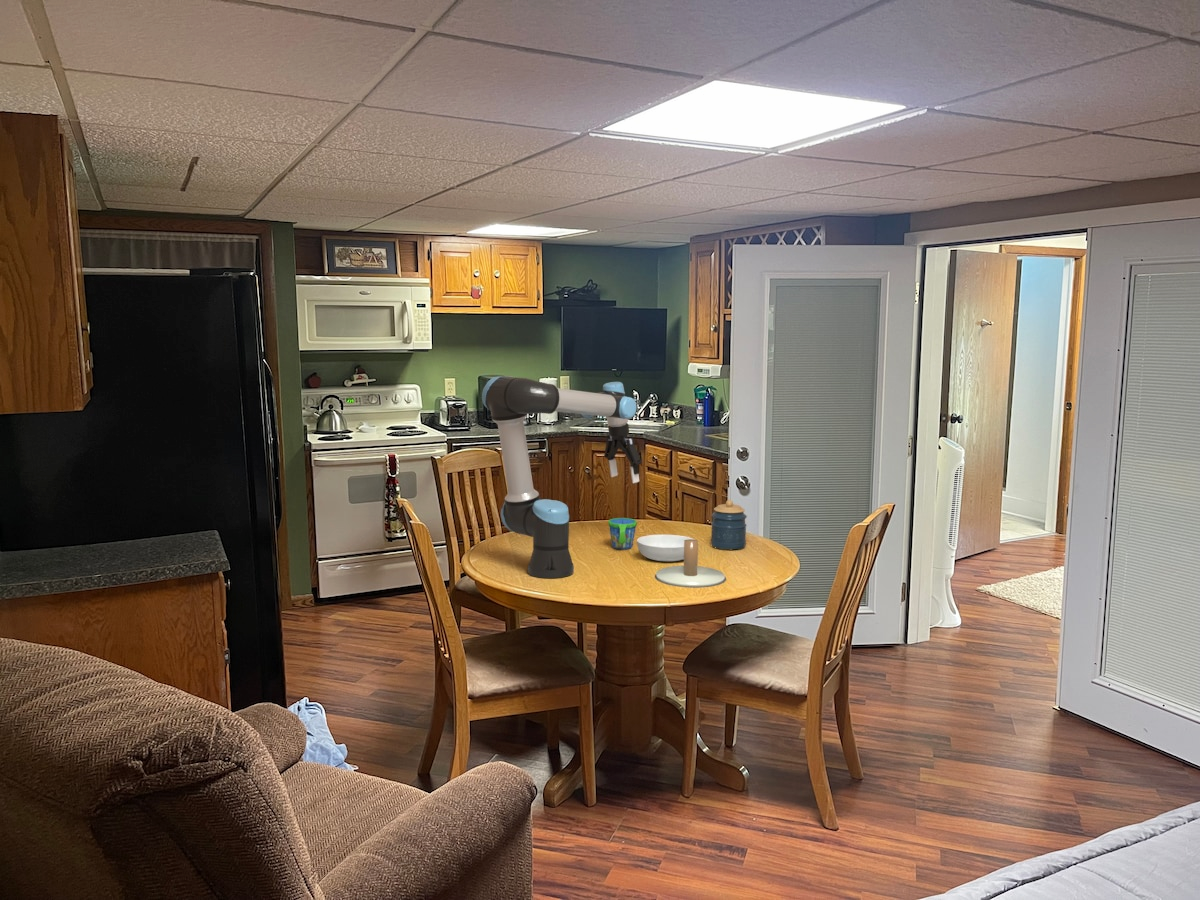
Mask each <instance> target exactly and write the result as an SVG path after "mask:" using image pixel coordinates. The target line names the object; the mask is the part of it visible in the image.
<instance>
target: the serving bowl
mask: <svg viewBox="0 0 1200 900" xmlns="http://www.w3.org/2000/svg"><path fill="white" fill-rule="evenodd" d="M688 539H693V540H696V539H695V538H692V537H689V536H685V535H677V534H648V535H643V536H640V537H638V538H637V539H636V544H637V548H638V551H639V552H640V553H641V555H643V557H645V558H647V559H649V560H653V561H658V562H666V563H668V562H669V563H670V562H678V561H679V562H680V561H684V540H688Z"/></svg>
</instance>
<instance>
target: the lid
mask: <svg viewBox="0 0 1200 900" xmlns="http://www.w3.org/2000/svg"><path fill="white" fill-rule="evenodd" d="M693 539H694V538H693ZM693 539H688V540H684V559H683V565H672V566H666V567H662V568H660V569H658V570H657V571H656V573H655V574H656V578H657V579H658V580H659V581H661V582H664V583H667V584H670V585H669V586H672V585H675V586H674V587H678V586H683V587H682V588H688V587H702V588H707V587H706V586H712V587H714V586H713V585H717V584H720V583H722V582H723V581H724V580H725V577H726V575H725V573H724V572H722V571H721V570H718V569H716V568H713V567H709V566H701V565H698V563H699V562H698V561H699V560H698V558H699V557H698V555H699V541H698V540H697V539H695V540H693ZM658 580H657V581H658ZM659 581H658V582H659ZM661 582H660V583H661ZM664 583H663V584H664ZM667 584H666V585H667ZM722 584H723V583H722ZM720 585H721V584H720ZM717 586H718V585H717Z"/></svg>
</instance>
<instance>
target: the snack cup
mask: <svg viewBox="0 0 1200 900" xmlns="http://www.w3.org/2000/svg"><path fill="white" fill-rule="evenodd" d="M607 524H608V526H609V534H610V541H611V547H612V548H613V549H614V550H615V549H617V550H620V549H622V550H623V549H625V550H629V549H632V548H633V545H634V540H635V534H636V527H637V526H638V521H637V520H636V519H634V518H630V517H629V518H627V517H615V518H610V519H608V521H607Z"/></svg>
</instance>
